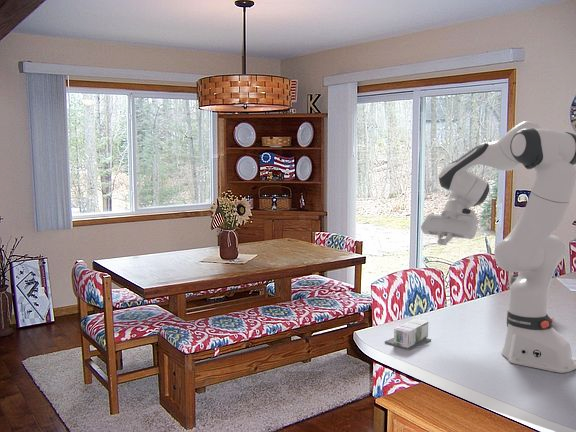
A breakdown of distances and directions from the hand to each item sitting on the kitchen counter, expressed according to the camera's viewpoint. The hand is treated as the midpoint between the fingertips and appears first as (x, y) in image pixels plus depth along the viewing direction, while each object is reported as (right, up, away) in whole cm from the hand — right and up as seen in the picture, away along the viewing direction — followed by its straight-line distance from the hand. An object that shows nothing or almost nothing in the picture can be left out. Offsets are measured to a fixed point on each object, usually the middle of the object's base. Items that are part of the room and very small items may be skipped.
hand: (441, 244), depth 210 cm
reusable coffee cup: (+39, -29, +20) cm, 53 cm away
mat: (-15, -33, -12) cm, 38 cm away
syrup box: (-9, -29, -7) cm, 31 cm away
